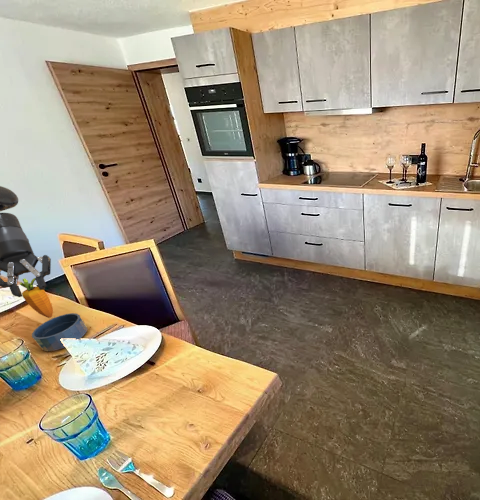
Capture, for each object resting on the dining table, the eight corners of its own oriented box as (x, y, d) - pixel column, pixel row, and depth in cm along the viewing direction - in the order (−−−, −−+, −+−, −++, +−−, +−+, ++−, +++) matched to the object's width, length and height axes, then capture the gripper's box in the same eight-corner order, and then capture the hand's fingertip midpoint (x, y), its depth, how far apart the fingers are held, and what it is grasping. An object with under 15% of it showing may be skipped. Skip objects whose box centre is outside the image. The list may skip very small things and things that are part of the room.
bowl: (35, 357, 91) (24, 344, 88) (49, 333, 101) (40, 320, 98) (82, 343, 96) (73, 330, 93) (92, 321, 105) (84, 309, 102)
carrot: (43, 315, 95) (16, 277, 88) (63, 310, 97) (37, 273, 90) (37, 324, 91) (8, 285, 84) (58, 319, 93) (31, 280, 86)
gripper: (-31, 247, 82) (-11, 300, 80) (37, 232, 91) (57, 279, 88) (-16, 257, 89) (4, 306, 86) (47, 242, 97) (66, 286, 94)
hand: (31, 292), depth 87 cm, fingers closed on carrot, 4 cm apart
